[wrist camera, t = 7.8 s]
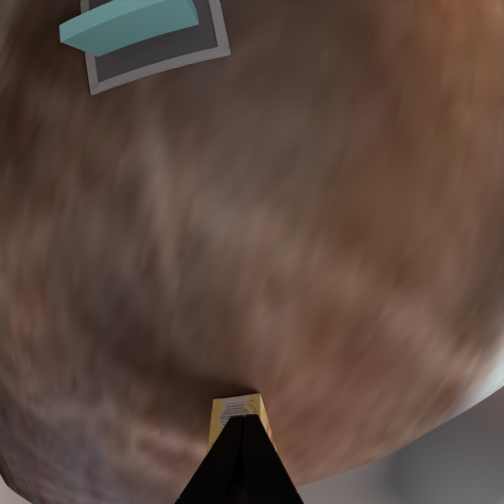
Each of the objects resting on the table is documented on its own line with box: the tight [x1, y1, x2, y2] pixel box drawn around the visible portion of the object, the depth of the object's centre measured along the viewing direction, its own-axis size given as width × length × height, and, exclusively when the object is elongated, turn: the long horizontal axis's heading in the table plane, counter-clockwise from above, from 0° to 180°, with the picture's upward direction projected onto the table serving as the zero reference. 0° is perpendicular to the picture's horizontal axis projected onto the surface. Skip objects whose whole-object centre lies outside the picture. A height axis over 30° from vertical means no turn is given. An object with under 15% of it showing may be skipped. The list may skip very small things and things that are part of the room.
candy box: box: [207, 393, 277, 453], centre depth 18 cm, size 9×4×15 cm, turn 12°
